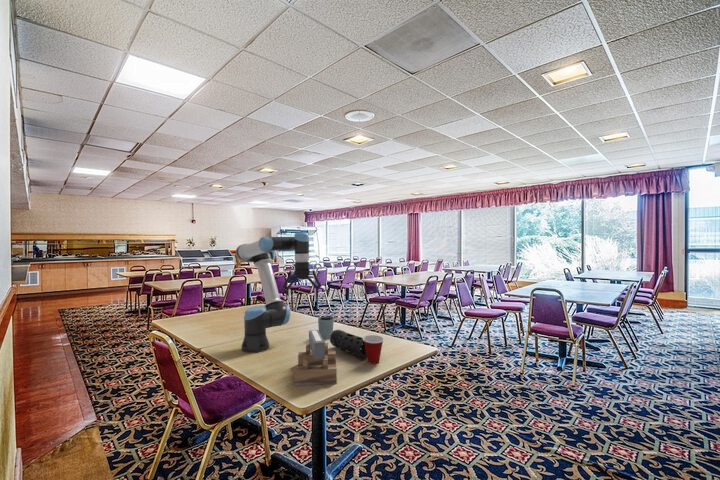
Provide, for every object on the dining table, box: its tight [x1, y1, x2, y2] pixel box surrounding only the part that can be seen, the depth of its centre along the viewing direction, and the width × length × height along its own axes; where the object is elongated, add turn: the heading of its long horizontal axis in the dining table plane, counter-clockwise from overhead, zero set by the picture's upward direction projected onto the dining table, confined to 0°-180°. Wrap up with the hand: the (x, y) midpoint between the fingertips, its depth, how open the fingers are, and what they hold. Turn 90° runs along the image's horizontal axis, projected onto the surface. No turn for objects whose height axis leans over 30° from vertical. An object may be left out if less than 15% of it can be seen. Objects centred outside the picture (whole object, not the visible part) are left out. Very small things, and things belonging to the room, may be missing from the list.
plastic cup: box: [362, 334, 385, 364], centre depth 174 cm, size 11×11×12 cm
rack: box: [293, 342, 338, 386], centre depth 160 cm, size 26×18×10 cm
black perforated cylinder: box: [328, 329, 367, 360], centre depth 189 cm, size 10×28×10 cm, turn 39°
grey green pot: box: [317, 316, 335, 340], centre depth 219 cm, size 10×10×12 cm
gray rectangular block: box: [308, 329, 326, 360], centre depth 160 cm, size 4×22×7 cm, turn 14°
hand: (302, 301), depth 186 cm, fingers open, 13 cm apart
